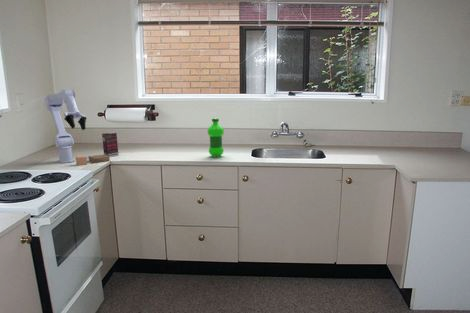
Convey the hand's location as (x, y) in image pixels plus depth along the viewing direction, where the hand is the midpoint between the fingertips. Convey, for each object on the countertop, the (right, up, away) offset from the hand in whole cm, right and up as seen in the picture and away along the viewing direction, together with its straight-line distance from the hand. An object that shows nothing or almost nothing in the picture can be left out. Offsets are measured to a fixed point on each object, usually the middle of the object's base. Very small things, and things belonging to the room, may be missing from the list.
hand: (78, 128), depth 225 cm
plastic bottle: (+78, -16, +32) cm, 86 cm away
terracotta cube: (-4, -21, +14) cm, 26 cm away
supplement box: (+6, -16, +40) cm, 44 cm away
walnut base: (+3, -19, +24) cm, 31 cm away
